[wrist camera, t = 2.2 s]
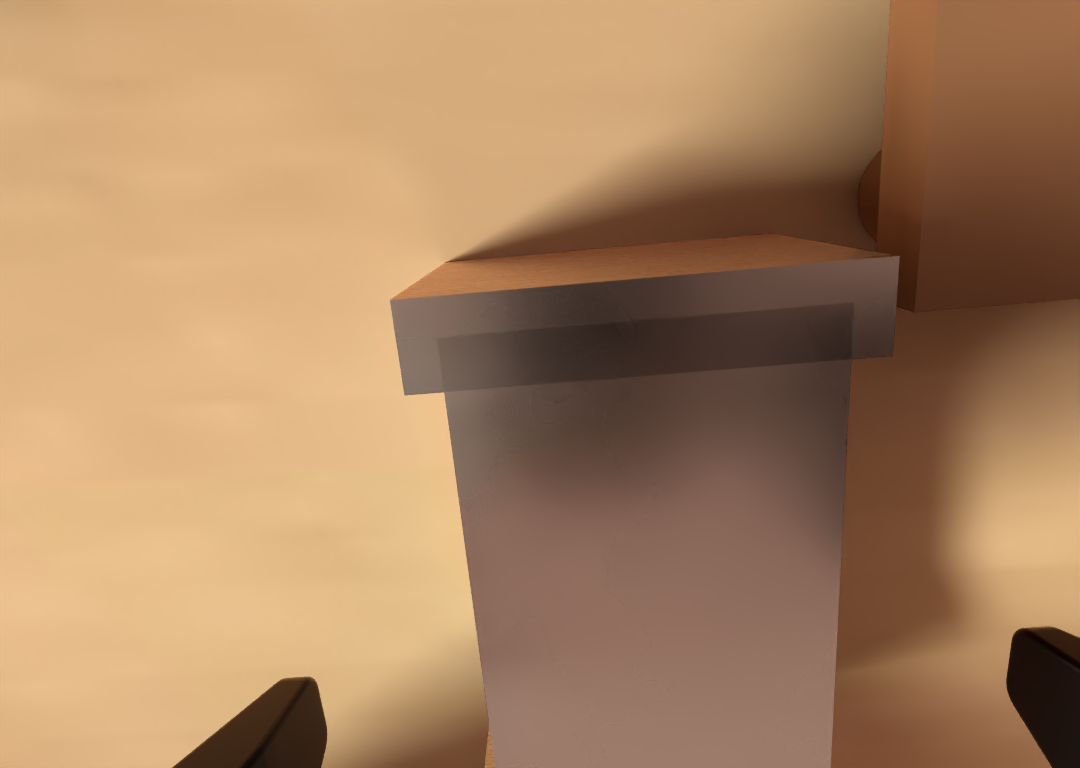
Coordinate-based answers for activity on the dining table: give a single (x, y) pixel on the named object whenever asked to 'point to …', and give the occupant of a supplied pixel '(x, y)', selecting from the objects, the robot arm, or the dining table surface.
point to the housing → (653, 489)
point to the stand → (979, 153)
